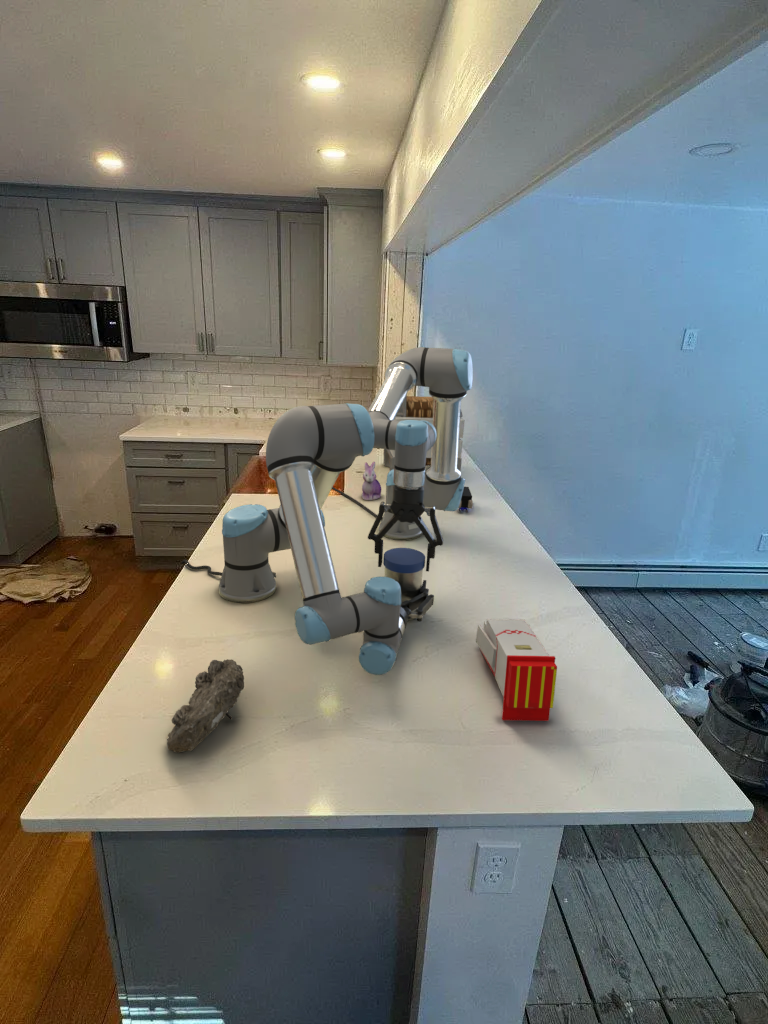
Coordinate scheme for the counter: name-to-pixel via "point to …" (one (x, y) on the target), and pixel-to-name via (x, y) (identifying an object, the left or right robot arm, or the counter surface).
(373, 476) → the figurine
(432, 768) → the counter surface
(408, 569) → the lid
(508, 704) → the toy
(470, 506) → the figurine character
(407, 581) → the jar
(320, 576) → the left robot arm
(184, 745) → the fossil
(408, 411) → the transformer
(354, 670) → the counter surface
